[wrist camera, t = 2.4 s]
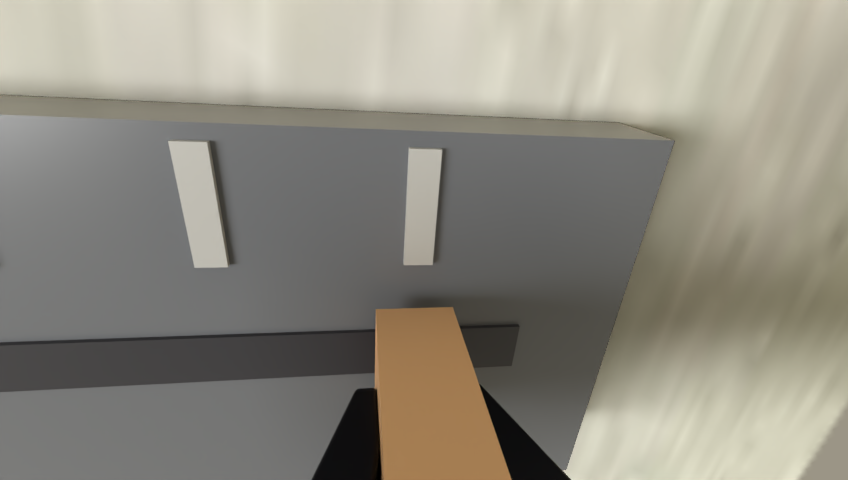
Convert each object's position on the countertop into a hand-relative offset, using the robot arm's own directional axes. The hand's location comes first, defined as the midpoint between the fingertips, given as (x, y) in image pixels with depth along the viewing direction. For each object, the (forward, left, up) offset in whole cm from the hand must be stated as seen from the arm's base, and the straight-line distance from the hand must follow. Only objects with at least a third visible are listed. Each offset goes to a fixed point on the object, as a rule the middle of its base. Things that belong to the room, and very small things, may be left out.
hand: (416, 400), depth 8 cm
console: (0, +6, -4) cm, 7 cm away
